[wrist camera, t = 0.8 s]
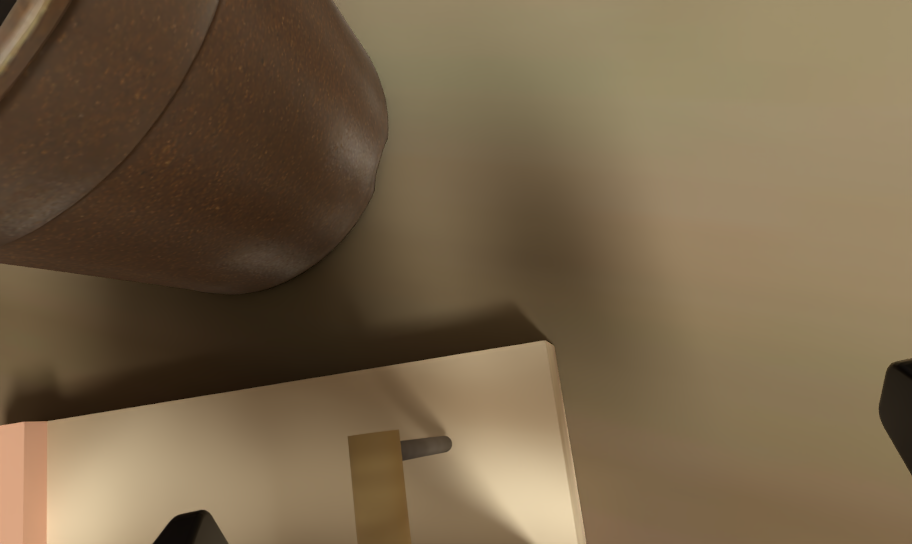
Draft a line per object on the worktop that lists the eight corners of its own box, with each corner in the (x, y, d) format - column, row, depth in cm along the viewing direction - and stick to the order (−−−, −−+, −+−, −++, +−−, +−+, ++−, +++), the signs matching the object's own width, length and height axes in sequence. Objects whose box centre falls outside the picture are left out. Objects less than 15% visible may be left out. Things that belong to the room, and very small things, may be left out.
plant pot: (28, 154, 32) (-553, -83, 16) (279, -103, 30) (-98, -614, 15) (214, 433, 26) (-388, 465, 11) (526, 136, 25) (326, -279, 10)
